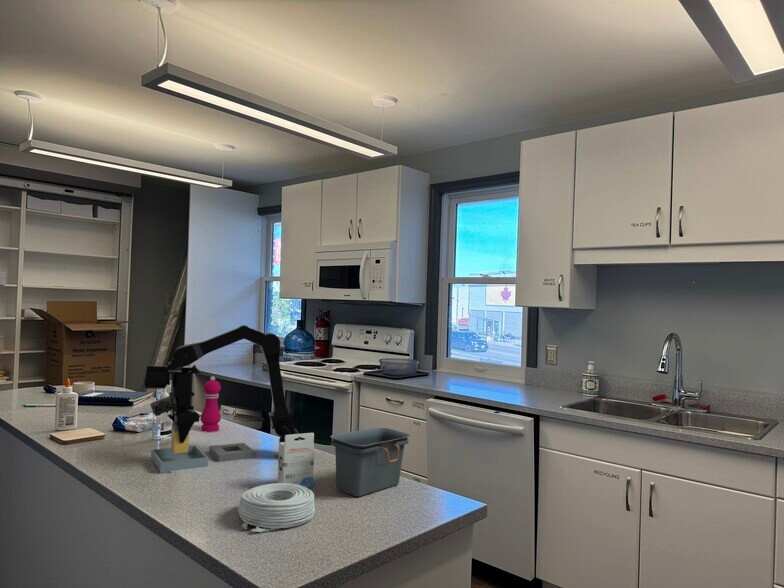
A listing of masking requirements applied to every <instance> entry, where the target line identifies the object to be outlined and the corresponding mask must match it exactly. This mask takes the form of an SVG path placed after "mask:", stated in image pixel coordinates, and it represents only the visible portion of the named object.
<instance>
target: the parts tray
mask: <svg viewBox="0 0 784 588" xmlns="http://www.w3.org/2000/svg"><path fill="white" fill-rule="evenodd" d="M150 451H151V452H150V461H151V462H152V463H153V465H154V466H155V469H157V471H158V473H159V474H161V475H162V474H168V473H172V471H182V470H190V469H196V468H206V467H208V466H209V457H208V456H207V455H206V454H205V453H204V452H203V450H201V449H200V448H199V446H197V445H188V452H183V453H173V452H172V451H171V447H163V448H155V449H154V448H153V449H151V450H150Z"/></svg>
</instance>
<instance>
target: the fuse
mask: <svg viewBox="0 0 784 588" xmlns="http://www.w3.org/2000/svg"><path fill="white" fill-rule="evenodd" d="M189 439H190V432H189V433H188V435H187V437H186V439H185V441H184V443H180V441H179V433H178V426H177V425H176V424H175V423H173V422H172V423H171V445H170V446H171V447H170V448H171V451H172V452H173V453H183V452H188V446H190V445H189V443H190V440H189Z"/></svg>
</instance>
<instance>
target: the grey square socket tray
mask: <svg viewBox="0 0 784 588" xmlns="http://www.w3.org/2000/svg"><path fill="white" fill-rule="evenodd" d="M208 448H209V449H208V451H209V452H208V453H209V454H210V455H211V456H212V457H213V458H214V459H215V460H216V461H217V462H218V463H222V462H230V461H239V460H240V461H241V460H247V459H255V455H256V453H255V452H256V451H255V450H254V449H253V448H251V447H250V446H249V445H247V444H246V443H244V442H238V443H229V444H227V443H226V444H218V445H210V446H209V447H208Z"/></svg>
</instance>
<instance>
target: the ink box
mask: <svg viewBox="0 0 784 588" xmlns="http://www.w3.org/2000/svg"><path fill="white" fill-rule="evenodd" d="M295 438H299V439H300V438H301V440H298V441H295V440H294V439H295ZM314 443H315V433H314V432H306V433H305V432H303V433H299V434H292V435H285V442H279V441H278V455H279V459H278V463H277V464H278V466H277V483H292V484H298V485H301V486H304V487H306V488H308V489H310V488H313V487H314V485H313V484H314V462H315V461H314V460H315V444H314ZM309 487H310V488H309Z"/></svg>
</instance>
